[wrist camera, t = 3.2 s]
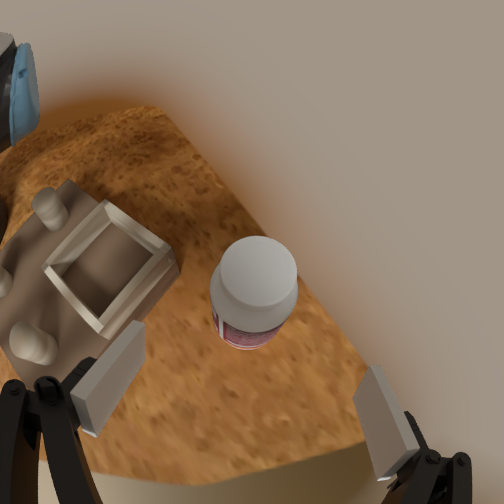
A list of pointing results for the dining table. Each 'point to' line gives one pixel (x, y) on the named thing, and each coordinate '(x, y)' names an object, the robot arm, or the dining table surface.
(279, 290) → the pill bottle
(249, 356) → the dining table surface
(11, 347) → the wooden organizer tray
